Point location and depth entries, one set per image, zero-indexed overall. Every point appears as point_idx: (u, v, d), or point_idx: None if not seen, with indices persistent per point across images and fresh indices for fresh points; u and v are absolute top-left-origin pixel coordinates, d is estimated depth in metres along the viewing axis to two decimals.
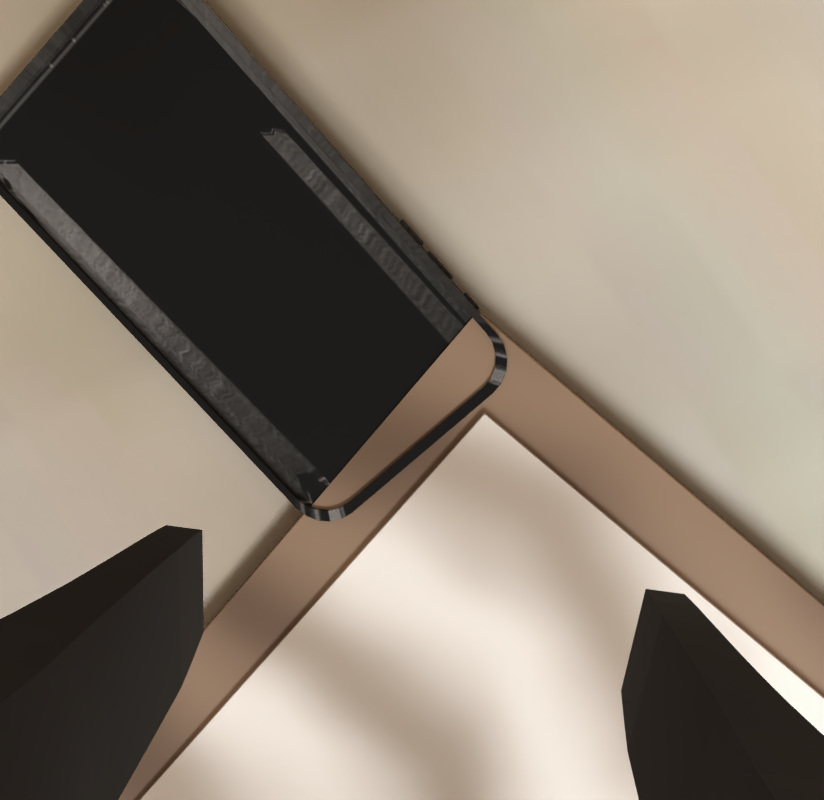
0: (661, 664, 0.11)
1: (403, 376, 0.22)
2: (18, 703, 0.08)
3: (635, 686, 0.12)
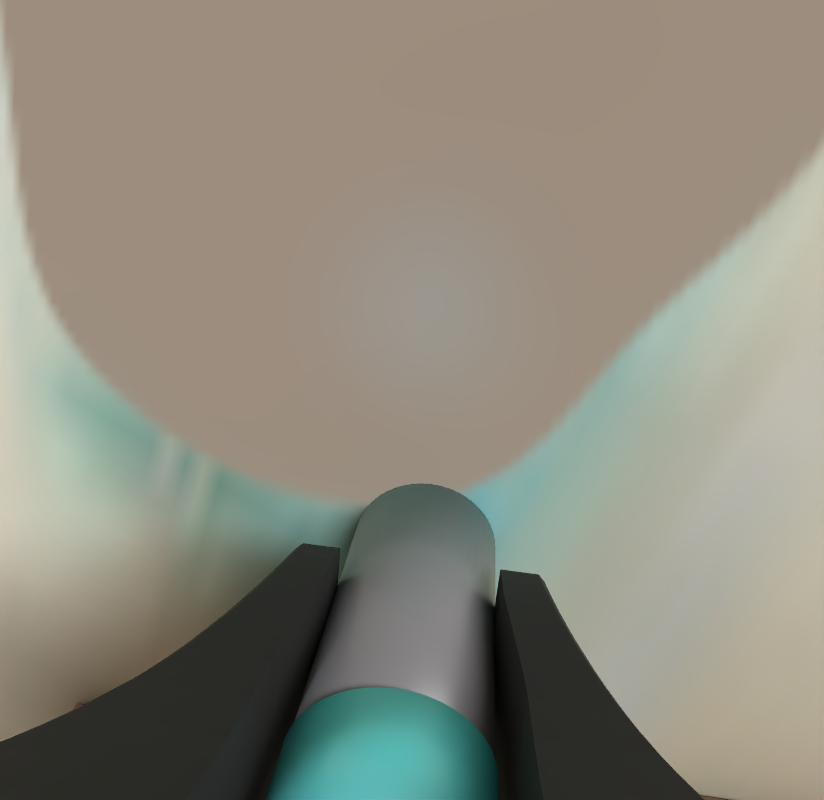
0: (500, 642, 0.11)
1: None
2: (236, 735, 0.08)
3: None
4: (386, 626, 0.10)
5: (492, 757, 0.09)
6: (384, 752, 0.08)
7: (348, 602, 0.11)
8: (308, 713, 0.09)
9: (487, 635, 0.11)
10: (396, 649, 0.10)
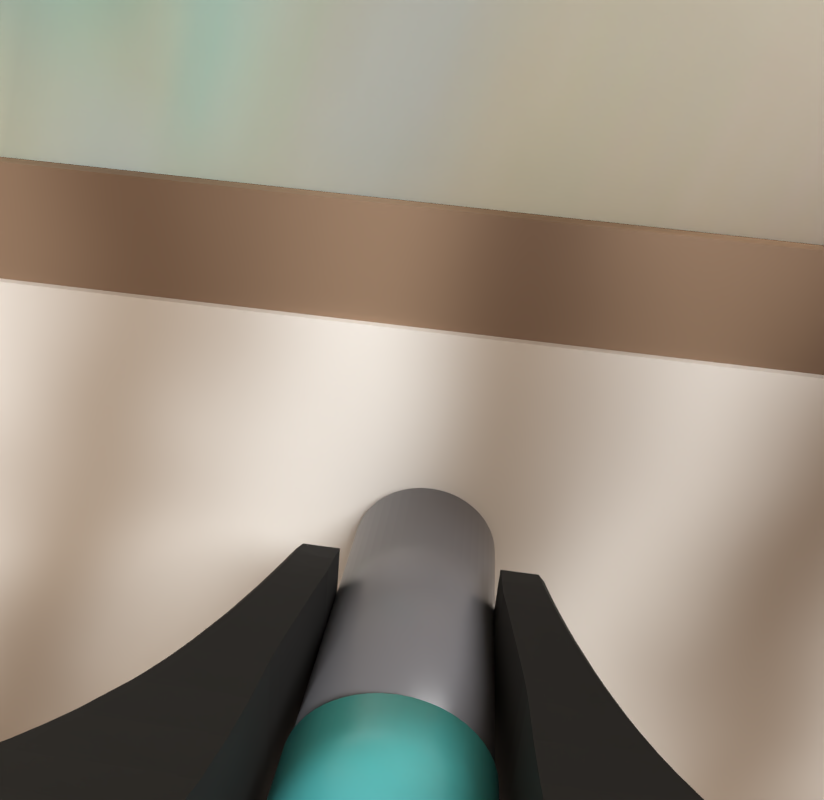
0: (500, 642, 0.11)
1: None
2: (236, 735, 0.08)
3: None
4: (386, 631, 0.10)
5: (492, 762, 0.09)
6: (384, 758, 0.08)
7: (347, 607, 0.11)
8: (308, 719, 0.09)
9: (486, 640, 0.11)
10: (395, 655, 0.10)
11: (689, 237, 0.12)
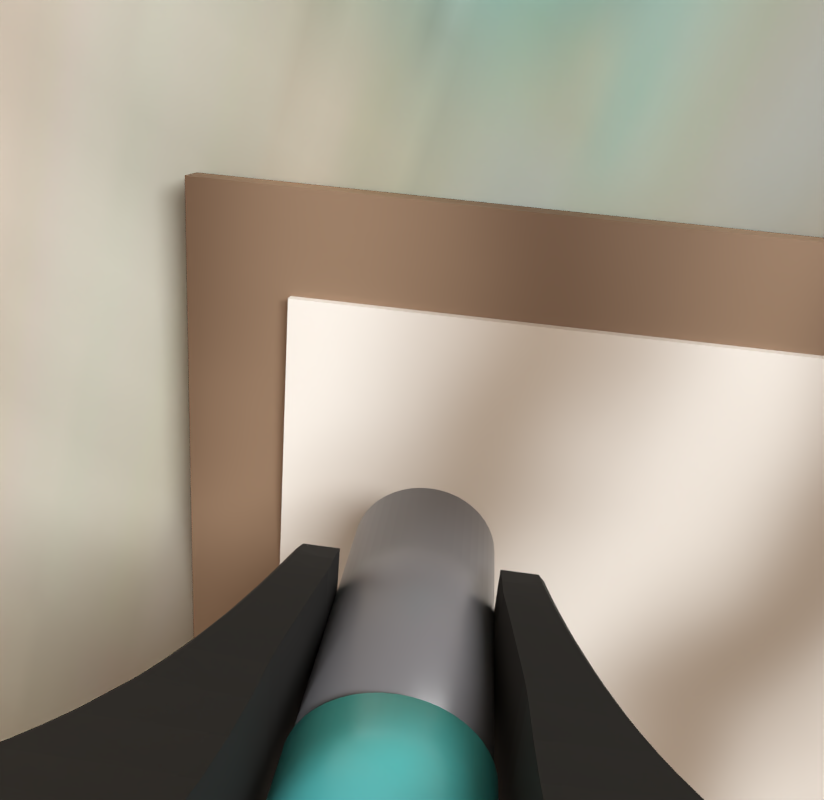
0: (500, 642, 0.11)
1: None
2: (236, 736, 0.08)
3: None
4: (386, 630, 0.10)
5: (491, 762, 0.09)
6: (383, 758, 0.08)
7: (347, 607, 0.11)
8: (308, 718, 0.09)
9: (486, 639, 0.11)
10: (394, 653, 0.10)
11: None
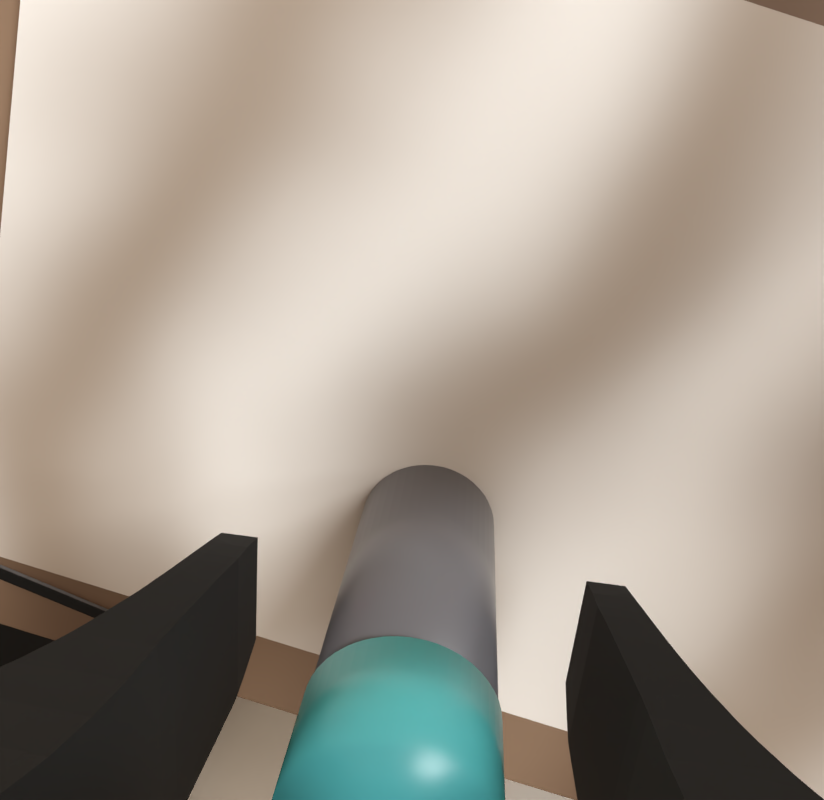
0: (595, 655, 0.11)
1: None
2: (106, 716, 0.08)
3: (575, 678, 0.12)
4: (397, 586, 0.11)
5: (496, 699, 0.10)
6: (400, 688, 0.09)
7: (360, 568, 0.12)
8: (329, 661, 0.10)
9: (489, 597, 0.12)
10: (406, 605, 0.11)
11: None
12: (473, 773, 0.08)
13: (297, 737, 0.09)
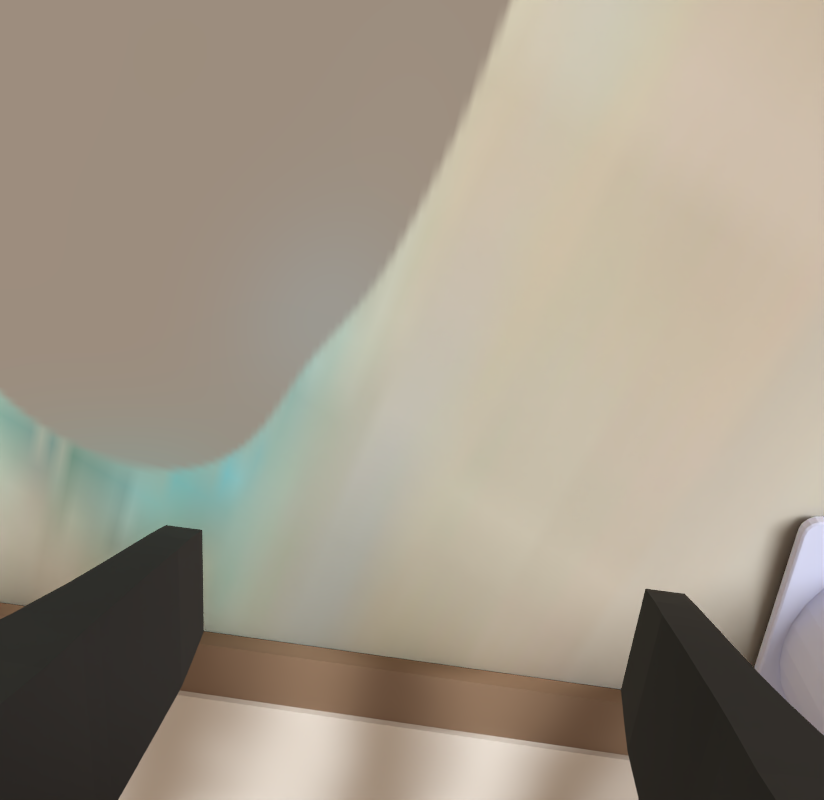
0: (661, 664, 0.11)
1: None
2: (18, 703, 0.08)
3: (635, 686, 0.12)
4: None
5: None
6: None
7: None
8: None
9: None
10: None
11: (470, 683, 0.24)
12: None
13: None
